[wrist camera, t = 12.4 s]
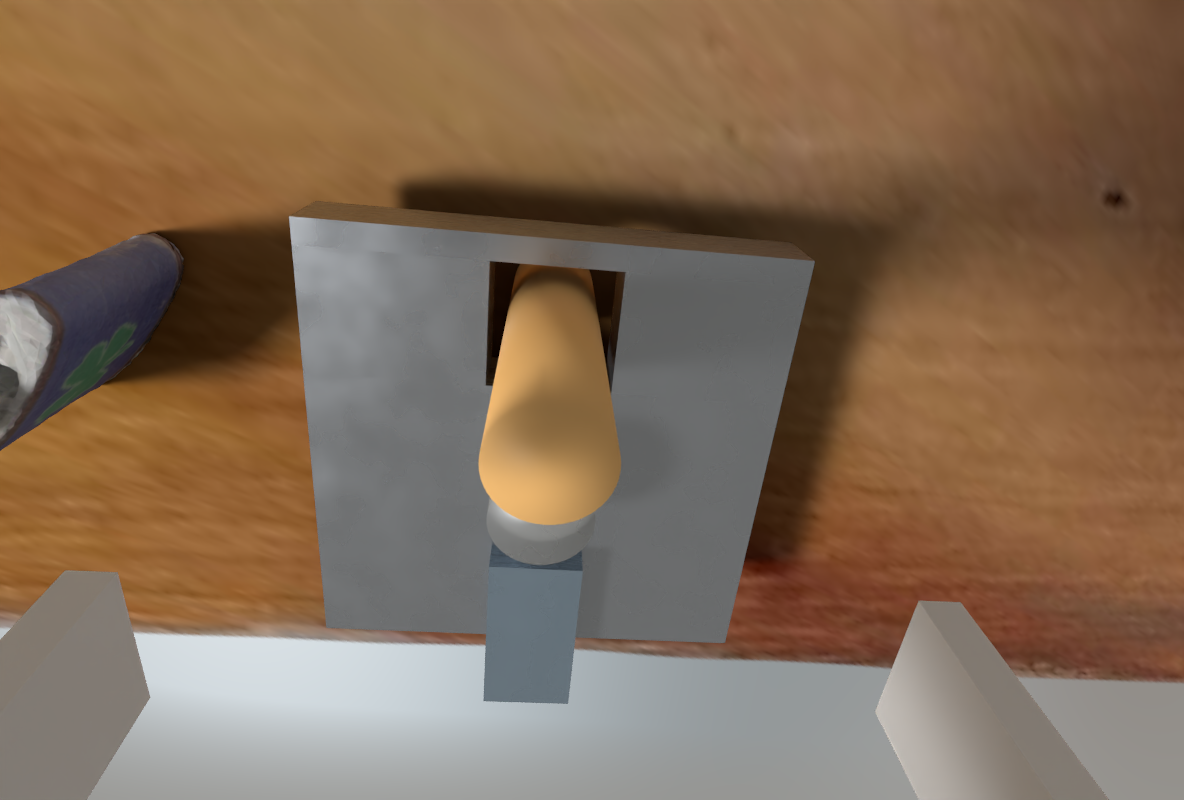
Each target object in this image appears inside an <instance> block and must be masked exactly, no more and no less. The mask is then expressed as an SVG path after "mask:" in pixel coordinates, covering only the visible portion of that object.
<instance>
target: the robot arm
mask: <svg viewBox="0 0 1184 800" xmlns="http://www.w3.org/2000/svg"><path fill="white" fill-rule="evenodd" d="M149 698H150V695H149V691H148V687H147V684H146V680H145V676H144V672H143V668H142V664H141V661H140V657H139V653H138V649H137V645H136V642H135V637H134V634H133V630H132V626H131V622H130V618H129V614H128V611H127V607H126V603H125V599H124V595H123V591H122V588H121V584H120V580H119V576H118V572H93V571H64V572H63V573H62V574H61V575H60V577H59V578H58V579H57V580H56V581H55V582H54V583H53V584H52V585H51V586H50V587H49V588H48V589H47V590H46V592H45V593H44V594H43V595H42V596H41V597H40V598H39V599H38V600H37V601H36V602H35V603H34V604H33V605H32V606H31V608H30V609H29V610H28V611H27V612H26V613H25V614H24V615H23V616H22V617H21V618H20V619H19V620H18V621H17V622H16V624H15V625H14V626H13V627H12V628H11V629H10V630H9V631H8V632H7V633H6V634H5V635H4V636H3V638H2V639H1V640H0V800H87V798H88V797H89V795H90V794H91V792H92V790H93V789H94V787H95V785H96V784H97V782H98V781H99V779H100V777H101V776H102V774H103V773H104V771H105V769H106V768H107V766H108V764H109V762H110V761H111V760H112V758H113V756H114V755H115V753H116V752H117V750H118V748H119V747H120V745H121V743H122V742H123V740H124V739H125V737H126V735H127V734H128V732H129V731H130V729H131V727H132V726H133V724H134V723H135V721H136V719H137V718H138V716H139V714H140V713H141V711H142V710H143V708H144V706H145V705H146V703H147V701H148V700H149ZM875 713H876V715H877V717H878V718H879V720H880V723H881V724H882V727H883V728H884V731H885V733H886V735H887V737H888V739H889V741H890V743H891V745H892V747H893V749H894V751H895V753H896V755H897V757H898V759H899V761H900V763H901V765H902V767H903V769H904V771H905V773H906V775H907V777H908V779H909V781H910V783H911V785H912V787H913V789H914V791H915V793H916V795H917V797H918V799H919V800H1109V799H1108V798H1107V796H1106V795H1105V794H1104V792H1103V791H1102V790H1101V788H1100V787H1099V786H1098V784H1097V783H1096V782H1095V780H1094V779H1093V778H1092V777H1091V775H1090V774H1089V772H1088V771H1087V770H1086V768H1085V767H1084V766H1083V765H1082V764H1081V762H1080V761H1079V759H1078V758H1077V757H1076V755H1075V754H1074V753H1073V751H1072V750H1071V749H1070V747H1069V746H1068V745H1067V743H1066V742H1065V741H1064V739H1063V738H1062V737H1061V735H1060V734H1059V733H1058V731H1057V730H1056V729H1055V727H1054V726H1053V725H1052V723H1051V722H1050V721H1049V720H1048V718H1047V717H1046V715H1045V714H1044V713H1043V712H1042V710H1041V709H1040V707H1039V706H1038V705H1037V703H1036V702H1035V701H1034V700H1033V698H1032V697H1031V695H1030V694H1029V693H1028V692H1027V690H1026V689H1025V687H1024V686H1023V685H1022V683H1021V682H1020V681H1019V679H1018V678H1017V677H1016V675H1015V674H1014V673H1013V671H1012V670H1011V669H1010V667H1009V666H1008V665H1007V664H1006V662H1005V661H1004V660H1003V658H1002V657H1001V656H1000V654H999V653H998V652H997V650H996V649H995V648H994V646H993V645H992V644H991V642H990V641H989V640H988V638H987V637H986V636H985V634H984V633H983V632H982V630H981V629H980V628H979V626H978V625H977V624H976V622H975V621H974V620H973V618H972V617H971V616H970V614H969V613H968V612H967V610H966V609H965V608H964V606H963V605H962V604H961V602H936V601H918V604H917V607H916V609H915V612H914V614H913V617H912V619H911V622H910V624H909V627H908V629H907V632H906V634H905V637H904V640H903V642H902V645H901V647H900V650H899V652H898V655H897V657H896V660H895V662H894V665H893V667H892V670H891V673H890V675H889V678H888V680H887V683H886V686H885V688H884V691H883V693H882V695H881V698H880V700H879V703H878V706H877V708H876V711H875Z"/></svg>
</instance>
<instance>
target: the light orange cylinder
mask: <svg viewBox="0 0 1184 800" xmlns="http://www.w3.org/2000/svg"><path fill="white" fill-rule="evenodd" d="M478 463H479V473H480V478H481V481H482V484H483V486H484V488H485V490H486V492H487V494H488V495H489V496H490V498H491V499H492V500H493V501H494V502H495V503H496V504H497V505H498V506H499V507H500V508H501V509H503V510H504V511H505V512H507V513H508V514H510V515H512V516H514V517H516V518H518V519H520V520H523V521H526V522H530V523H535V524H542V525H558V524H565V523H569V522H573V521H576V520H579V519H582V518H584V517H586V516H588V515H590V514H591V513H593V512H594V511H596V510H597V509H598V508H599V507H601V506H602V505H603V504H604V503H605V502H606V501H607V500H608V498H609V497H610V496H611V494H612V493H613V491H614V489H615V487H616V485H617V483H618V480H619V476H620V472H621V456H620V449H619V443H618V437H617V431H616V424H615V418H614V412H613V406H612V400H611V393H610V387H609V381H608V375H607V369H606V363H605V356H604V350H603V344H602V338H601V332H600V325H599V319H598V313H597V307H596V301H595V294H594V288H593V282H592V277H591V273H590V271H589V269H582V268H570V267H558V266H545V265H533V264H521V263H520V265H519V267H518V269H517V271H516V274H515V279H514V284H513V289H512V294H511V299H510V304H509V309H508V314H507V319H506V324H505V329H504V334H503V339H502V344H501V349H500V354H499V359H498V363H497V368H496V373H495V378H494V383H493V388H492V393H491V398H490V403H489V408H488V413H487V418H486V423H485V428H484V433H483V438H482V443H481V448H480V453H479V462H478Z"/></svg>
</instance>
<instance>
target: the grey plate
mask: <svg viewBox="0 0 1184 800" xmlns="http://www.w3.org/2000/svg"><path fill="white" fill-rule="evenodd" d="M289 222H290V233H291V244H292V255H293V266H294V277H295V288H296V299H297V310H298V321H299V332H300V343H301V354H302V364H303V375H304V386H305V397H306V408H307V419H308V430H309V441H310V452H311V463H312V474H313V485H314V496H315V507H316V518H317V529H318V539H319V550H320V561H321V572H322V583H323V594H324V605H325V616H326V627H327V628H345V629H371V630H397V631H424V632H450V633H476V634H486V653H485V678H484V701H498V702H532V703H534V702H535V703H563V704H565V703H566V704H567V703H568V698H569V689H570V680H571V671H572V662H573V653H574V645H575V637H581V638H607V639H633V640H660V641H686V642H712V643H725V640H726V635H727V631H728V627H729V623H730V618H731V614H732V610H733V606H734V602H735V597H736V593H737V589H738V585H739V580H740V576H741V572H742V568H743V564H744V559H745V555H746V551H747V547H748V542H749V538H750V534H751V530H752V526H753V521H754V517H755V513H756V509H757V504H758V500H759V496H760V492H761V488H762V483H763V479H764V475H765V471H766V466H767V462H768V458H769V454H770V450H771V445H772V441H773V437H774V433H775V428H776V424H777V420H778V416H779V412H780V407H781V403H782V399H783V395H784V390H785V386H786V382H787V378H788V374H789V369H790V365H791V361H792V357H793V352H794V348H795V344H796V340H797V336H798V331H799V327H800V323H801V319H802V314H803V310H804V306H805V302H806V298H807V293H808V289H809V285H810V281H811V276H812V272H813V268H814V264H815V261H814V260H813V259H812V258H810V257H809V256H808V255H807V254H805V253H804V252H803V251H801V250H800V249H799V248H797V247H796V246H795V245H793V244H792V243H791V242H780V241H768V240H757V239H745V238H734V237H722V236H711V235H699V234H688V233H677V232H665V231H654V230H642V229H631V228H619V227H608V226H596V225H585V224H573V223H562V222H550V221H539V220H527V219H516V218H504V217H493V216H481V215H470V214H458V213H447V212H436V211H424V210H413V209H401V208H390V207H378V206H367V205H355V204H344V203H332V202H321V201H315V202H313V203H311V204H310V205H308V206H306V207H304V208H303V209H301V210H299V211H297V212H296V213H294V214H292V215H290V216H289ZM495 261H497V262H509V263H521V264H533V265H545V266H558V267H570V268H582V269H594V270H607V271H617V276H616V284H615V293H614V302H613V311H612V320H611V329H610V338H609V346H608V355H607V364H606V369H607V375H608V381H609V387H610V393H611V400H612V406H613V412H614V418H615V424H616V431H617V437H618V443H619V449H620V456H621V472H620V476H619V480H618V483H617V485H616V487H615V489H614V491H613V493H612V494H611V496H610V497H609V498H608V500H607V501H606V502H605V503H604V504H603V505H602V506H601V507H599V508H598V509H597V510H596V511H594V512H593V513H591V514H590V515H588V516H586V517H584V518H582V519H579V520H576V521H573V522H569V523H565V524H558V525H542V524H535V523H530V522H526V521H523V520H520V519H518V518H516V517H514V516H512V515H510V514H508V513H507V512H505V511H504V510H503V509H501V508H500V507H499V506H498V505H497V504H496V503H495V502H494V501H493V500H492V499H491V498H490V496H489V495H488V494H487V492H486V490H485V488H484V486H483V484H482V481H481V478H480V473H479V463H478V462H479V453H480V448H481V443H482V438H483V433H484V428H485V423H486V418H487V413H488V408H489V403H490V398H491V393H492V388H493V383H494V378H495V373H496V368H497V363H498V359H499V357H492V343H493V315H494V287H495Z"/></svg>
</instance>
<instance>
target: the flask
mask: <svg viewBox="0 0 1184 800" xmlns="http://www.w3.org/2000/svg"><path fill="white" fill-rule="evenodd" d="M169 243H170V244H171V245H172V246H173V248H174V250H173V249H172V248H171V245H170V244H169ZM174 251H175V252H174ZM183 260H184V258H183V257H182V256H181V254H180V252H179V250H178V249H177V248H176V246H175V245H174V244H172V243H171V242H169V241H168V240H167V239H166V238H162V237H161V236H158V235H157V234H156V233H151V234H140V235H136V236H133V237H131V238H130V239H129V240H126V241H122V242H120V243H118V244H116V245H114V246H112V247H110V248H108V249H105V250H103V251H101V252H99V253H97V254H95V255H93V256H91V257H88V258H85V259H82V260H79V261H77V262H75V263H73V264H71V265H69V266H66V267H64V268H61V269H58V270H55V271H53V272H50V273H46V274H44V275H41V276H39V277H36V278H34V279H32V280H30V281H27V282H25V283H22V284H20V285H17V286H14V287H11V288H8V289H5V290H0V450H2V449H3V448H5V447H6V446H8V445H9V444H11V443H12V442H14V441H15V440H16V439H18V438H19V437H21V436H23V435H24V434H26V433H27V432H29V431H31V430H32V429H34V428H35V427H37V426H38V425H40V424H41V423H42V422H44V421H45V420H46V419H48V418H49V417H51V416H53V415H54V414H56V413H57V412H59V411H60V410H62V409H63V408H64V407H66V406H67V405H69V404H70V403H72V402H74V401H75V400H77V399H79V398H80V397H82V396H84V395H86V394H87V393H88V392H90V391H92V390H94V389H96V388H99V387H100V386H101V385H102V384H104V383H105V382H106V381H108V380H111V379H112V378H114V377H116V376H117V374H119V372H120V371H122V369H124V368H125V367H127V365H130V364H131V363H132V359H134V358H135V357H137V356H138V354H139V353H141V351H143V348H144V346H145V345H146V344H147V343H148V342H149V341H150V340H151V336H152V334H153V332H154V331H155V329H156V327H157V326H158V325H159V323H160V321H161V318H163V316H164V314H165V313H166V312H167V308H168V306H169V304H171V302H172V301H173V299H174V296H175V292H176V291H177V289H178V288H179V286H180V284H181V283H180V281H181V280H182V274H183V270H184V269H183V268H184V265H183V264H182V263H183Z"/></svg>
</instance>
